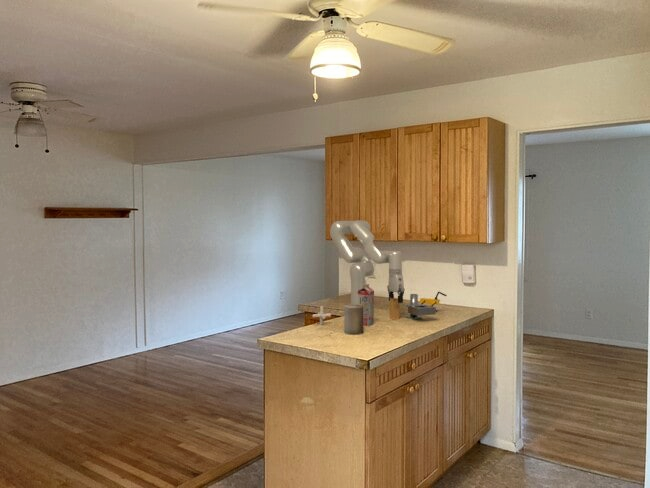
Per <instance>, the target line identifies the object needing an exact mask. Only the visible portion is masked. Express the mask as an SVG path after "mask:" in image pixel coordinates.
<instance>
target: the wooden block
mask: <svg viewBox="0 0 650 488" xmlns="http://www.w3.org/2000/svg"><path fill="white" fill-rule="evenodd" d="M389 319H390V320H399V319H400V303H398V297H394V298H390V301H389Z"/></svg>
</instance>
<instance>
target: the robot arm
mask: <svg viewBox="0 0 650 488" xmlns="http://www.w3.org/2000/svg"><path fill="white" fill-rule="evenodd" d="M370 230H371V224H370V223H369V222H368V221H366V220H360V219H359V220H358V219H357V220H337V221H334V222H333V223H332V224H331V225H330V229H329V233H330V235H329V236H330V237H331V239H332V241H333V243H334V244H335V246H336V248H337V250H338V251H339V253H340V254H341V257H343V259H344V261H345V262H346V263H348V264H351V265H350V268H349V276H350V305H352V304H353V305H358V291H359V290H361V289H363V285H367V280H366V278H367V277H370V276H372V275H373V274H374V273H375V266H374V264H373V263H375V264H378V265H379V264H380V265H382V264H388V285H386V286H387V287H386V288H387V292H388V293H387V294H388V301H389V302H390V298H395V294H394V293H397V298H398V303H399V304H403V302H404V294H405V288H404V287H405V286H404V276H403V257H402V256H403V255H402V252H401V251H400V250H379V249H378V248H377V247H376V245H375V244H374V240H375V234H373V233H372V232H371V231H370ZM345 235H354V236H355V237H356V239H357V240H358V241H359V242H360V243H361V244H362V245H363V248H361V247H358V246H357V247H354V246H353V245H352V243H351V241H350V240H349V239H348V237H347V236H345ZM342 311H344V312H345V308H344V307H343V310H342Z"/></svg>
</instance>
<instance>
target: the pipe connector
mask: <svg viewBox="0 0 650 488" xmlns="http://www.w3.org/2000/svg"><path fill="white" fill-rule="evenodd" d="M311 316H312V318H313V319H314V318H319V325H320V326H324V319H326V318H331V317H332V314H331V313H324V306H323V305H320V306H319V311H318V312H317V313H315V314H312V315H311Z"/></svg>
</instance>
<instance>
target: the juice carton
mask: <svg viewBox="0 0 650 488" xmlns="http://www.w3.org/2000/svg"><path fill="white" fill-rule="evenodd" d="M366 284H367V283H366ZM358 305H363V327H370V326H373V325H374V323H375V321H374V320H375V319H374V317H375V290H374V289H373V288H371V287H370V284H369V283H368V284H367V285H363V289H361V290H359V291H358Z"/></svg>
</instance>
